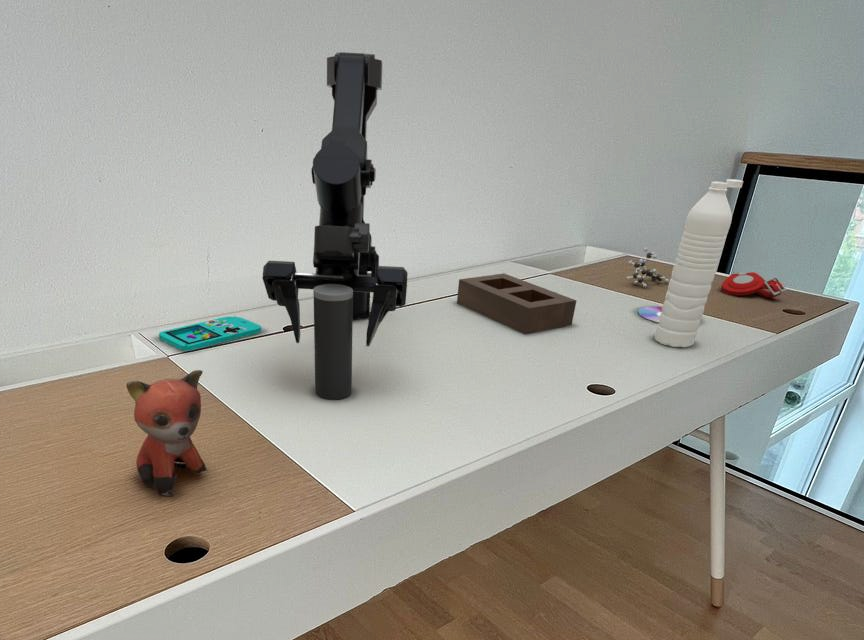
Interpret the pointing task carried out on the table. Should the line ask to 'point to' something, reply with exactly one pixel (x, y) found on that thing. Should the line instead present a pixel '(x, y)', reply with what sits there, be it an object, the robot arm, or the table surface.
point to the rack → (516, 303)
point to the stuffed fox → (167, 429)
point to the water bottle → (695, 266)
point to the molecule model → (645, 270)
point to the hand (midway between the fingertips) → (332, 343)
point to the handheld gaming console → (209, 333)
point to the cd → (651, 313)
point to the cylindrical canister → (333, 340)
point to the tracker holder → (752, 285)
